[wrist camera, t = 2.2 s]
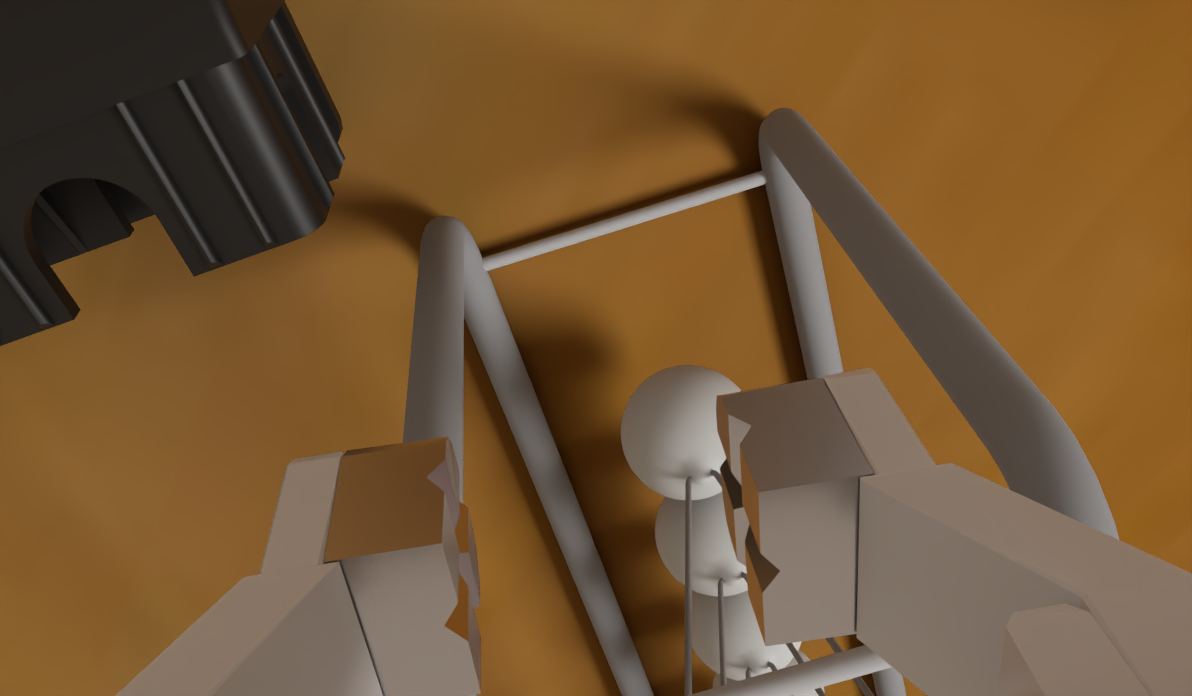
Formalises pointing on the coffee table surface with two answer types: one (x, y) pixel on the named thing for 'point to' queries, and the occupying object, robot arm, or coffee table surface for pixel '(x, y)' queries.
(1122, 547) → the robot arm
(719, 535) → the newton's cradle
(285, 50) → the end cap
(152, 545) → the coffee table surface
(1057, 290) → the coffee table surface
